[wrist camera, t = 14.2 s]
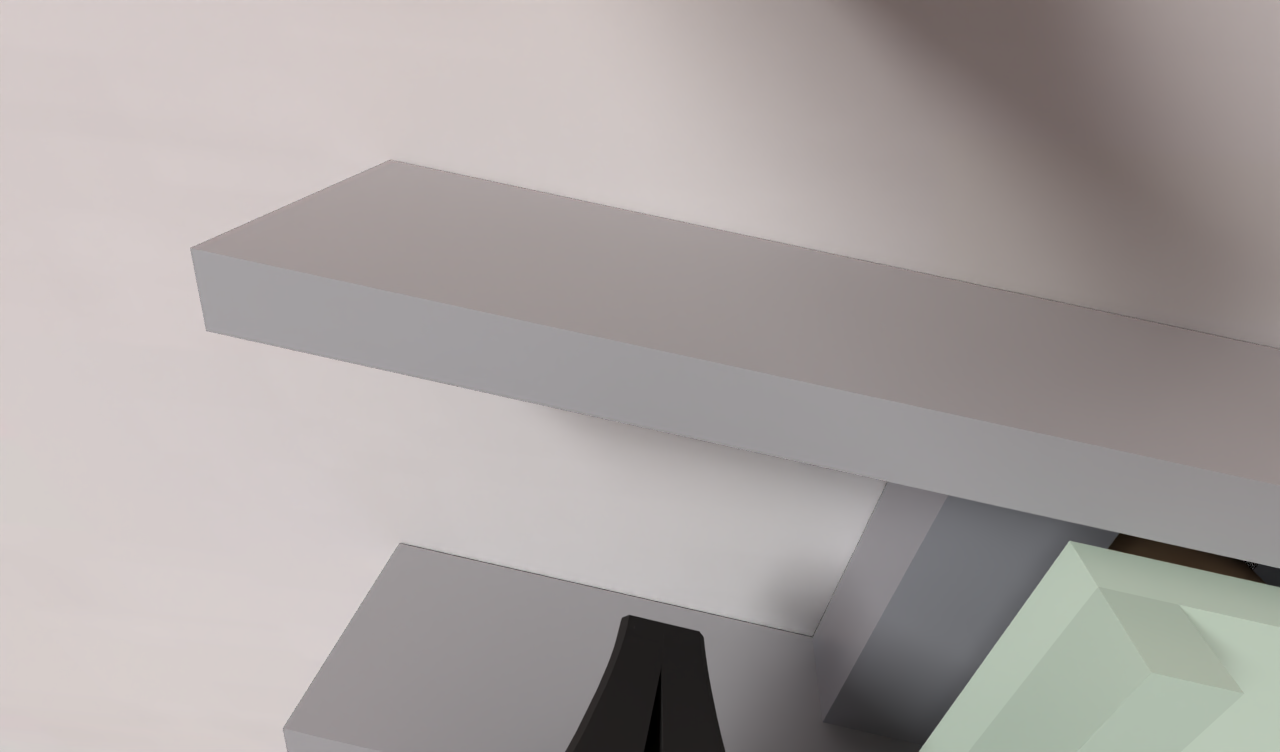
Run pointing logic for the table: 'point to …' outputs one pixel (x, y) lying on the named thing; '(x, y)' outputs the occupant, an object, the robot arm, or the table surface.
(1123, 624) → the lid
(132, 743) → the table surface
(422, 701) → the housing
